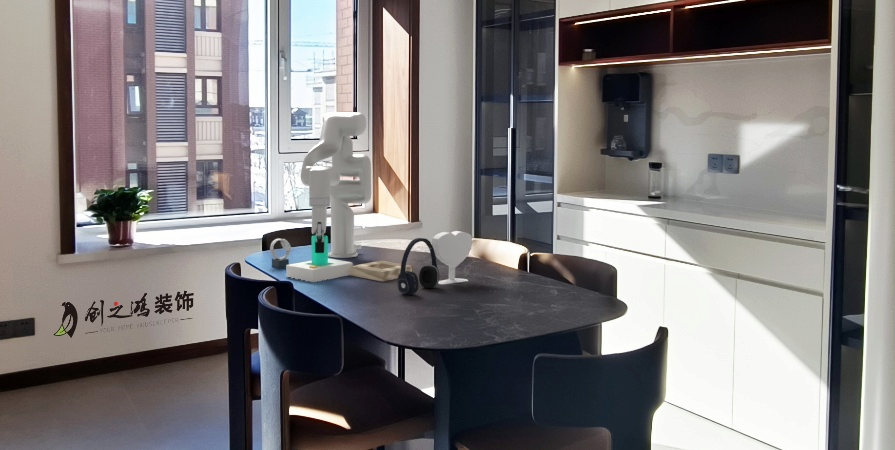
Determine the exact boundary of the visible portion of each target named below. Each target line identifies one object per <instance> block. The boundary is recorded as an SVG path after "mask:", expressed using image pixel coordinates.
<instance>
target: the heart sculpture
mask: <svg viewBox="0 0 895 450" xmlns="http://www.w3.org/2000/svg"><path fill="white" fill-rule="evenodd" d="M431 244H432V246H433V248H434V251H435V256H436V259H437V260H439V261H440V262H441V263H443V264H445V265H446V266H447V267H448V278H447V279H444V280H439V282H438V285H449V284H456V283H462V282H469V280H468V279H467V278H457V277H456V268H457V267H458V266H459V265H460V264H461V263H463V261H464V260H465V259H466V258H467V257H468V256H469V254H470V252H471V250H472V245H473V236H472V235H471V234H470V233H468V232H464V231H460V230H453V231H452V232H447V231H441V232H439V233H437V234H435V235H434V236H433V237H432V242H431Z"/></svg>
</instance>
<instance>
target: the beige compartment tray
mask: <svg viewBox="0 0 895 450" xmlns="http://www.w3.org/2000/svg"><path fill="white" fill-rule="evenodd" d="M400 270H401V263H395V262H390V261H385V260H375V261H372V262H367V263H361V264H356V265H353V266H351V275H350V277H351V276H352V277H356V278H362V279H368V280H373V281H377V282H387V281H390V280H391V281H392V280H397V279H398V276H399V274H400ZM405 271H411V272H413V265H411V264H410V265H409V264H406V269H405Z"/></svg>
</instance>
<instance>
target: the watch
mask: <svg viewBox="0 0 895 450" xmlns="http://www.w3.org/2000/svg"><path fill="white" fill-rule="evenodd" d="M278 241H280V246H281V247H282V248H283V249H284V250H285V254H284V255H283V256H281V257H278V255H277V254H276V252H275V249H274V246H275V244H276V243H277V242H278ZM291 250H292V247H291V243H290V242H289V241H288V240H287V239H285V238H275V239H274V240H272V241H271V243H270V246H269V251H270V254H271V256H272V257H273V258H271V267H272V268H274V269H275V268H276V269H278V268H280V269H286V268H285V267H286V265H289V264H290V263H289V262H290V260H289V259H288V257H289V256H290V253H291Z"/></svg>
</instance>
